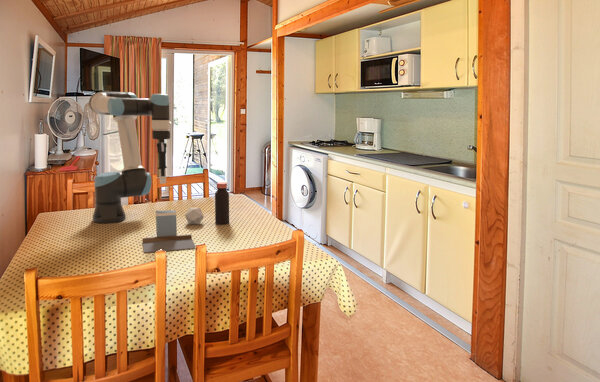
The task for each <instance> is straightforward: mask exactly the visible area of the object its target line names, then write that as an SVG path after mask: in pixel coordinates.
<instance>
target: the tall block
mask: <svg viewBox="0 0 600 382" xmlns="http://www.w3.org/2000/svg"><path fill="white" fill-rule="evenodd" d="M155 228H156V229H155V230H156V237H162V236H176V235H177V234H178V232H177V231H178V228H177V211H176V209H166V210H164V209H163V210H155Z"/></svg>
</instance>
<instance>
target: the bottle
mask: <svg viewBox="0 0 600 382" xmlns="http://www.w3.org/2000/svg"><path fill="white" fill-rule="evenodd" d="M227 188H228V183H227V182H222V181H220V182H217V183H216V189H217V190H216V192H215V193H214V218H215V219H214V221H215V224H216V225H221V226H223V225H228V224H229V223H230V193H229V191H228V190H227Z"/></svg>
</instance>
